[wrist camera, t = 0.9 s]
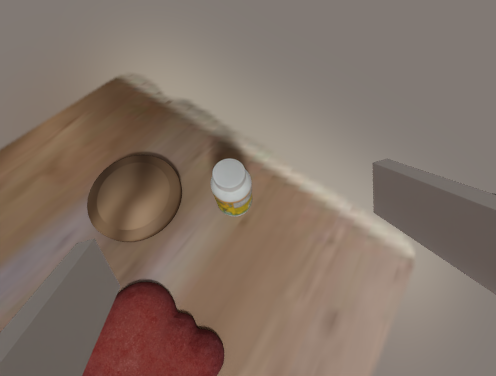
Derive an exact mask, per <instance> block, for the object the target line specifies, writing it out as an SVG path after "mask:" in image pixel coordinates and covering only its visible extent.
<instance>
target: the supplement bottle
mask: <svg viewBox="0 0 496 376" xmlns="http://www.w3.org/2000/svg"><path fill="white" fill-rule="evenodd" d="M211 189H212V192H213V194H214V197H215V199H216V201H217V204H218V206H219V208H220V210H221V211H222V212H223V213H225V214H227V215H230V216H240V215H242V214H244V213H245V212H247V211H248V209H249V208H250V206H251V203H252V182H251V177H250V175H249V173H248V172H247V170H246V169H245V168H244V166H243V164H242V163H241V162H239V161H238V160H236V159H231V158H229V159H223V160H221V161H219V162H218V163H217V164H216V165H215V167H214V168H213V172H212V178H211Z"/></svg>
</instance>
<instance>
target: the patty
mask: <svg viewBox="0 0 496 376" xmlns="http://www.w3.org/2000/svg"><path fill="white" fill-rule="evenodd" d="M223 361H224V349H223V344H222V342H221V340H220V339H219V338H218V336H217V335H216V334H215V333H214V332H212V331H209V330H206V329H199V328H198V327H197V326H196V324H195V321H194V320H193V318H192V317H191V316H190V315H188V314H184V313H179V312H178V311H177V309H176V306H175V303H174V301H173V298H172V296H171V295H170V294H169V292H168V291H167V290H166V289H164V288H163V287H162V286H160V285H158V284H156V283H152V282H140V283H135V284H133V285H130V286H129V287H127V288H125V289H124V290H122V291H121V292H120V293H119V294H117V296H116V298H115V300H114V302H113V305H112V307H111V309H110V312H109V314H108V316H107V319H106V321H105V323H104V326H103V328H102V330H101V333H100V335H99V337H98V340H97V342H96V344H95V347H94V349H93V351H92V354H91V356H90V358H89V361H88V363H87V365H86V368H85V370H84V372H83V375H82V376H217V374H218V373H219V371H220V369H221V367H222V365H223Z"/></svg>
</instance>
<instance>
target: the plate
mask: <svg viewBox="0 0 496 376" xmlns="http://www.w3.org/2000/svg"><path fill="white" fill-rule="evenodd" d="M181 198H182V188H181V183H180V180H179V178H178V176H177V174H176V173H175V171H174V170H173V168H172V167H171V166H170V165H169V164H168V163H167V162H165V161H163V160H162V159H160V158H157V157H154V156H149V155H135V156H130V157H126V158H123V159H121V160H119V161H117V162H115V163H113V164H112V165H110V166H109V167H108V168H106V169H105V170H104V171H103V172H102V173H101V174H100V175H99V176H98V178H97V179H96V181H95V182H94V184H93V186H92V188H91V190H90V193H89V196H88V203H87V208H88V215H89V218H90V220H91V222H92V224H93V226H94V227H95V228H96V229H97V230H98V231H99V232H100V233H102V234H103V235H105V236H107V237H109V238H112V239H114V240H117V241H122V242H136V241H141V240H144V239H147V238H149V237H152V236H154V235H155V234H157V233H159V232H160V231H161V230H163V229H164V228H165V227H166V226H167V225H168V224H169V223H170V222H171V220H172V219H173V218H174V216H175V215H176V213H177V211H178V209H179V206H180V203H181Z"/></svg>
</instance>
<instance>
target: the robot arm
mask: <svg viewBox="0 0 496 376" xmlns="http://www.w3.org/2000/svg"><path fill="white" fill-rule="evenodd" d="M373 199H374V201H373V203H374V213H375V214H377V215H378V216H380V217H381V218H383V219H384V220H386V221H387V222H389V223H390V224H392V225H393V226H395V227H396V228H398V229H399V230H400V231H402V232H403V233H405V234H406V235H408V236H410V237H411V238H412V239H414V240H415V241H417V242H419V243H420V244H421V245H423V246H424V247H426V248H427V249H429V250H430V251H432V252H433V253H435V254H436V255H438V256H439V257H441V258H442V259H444V260H445V261H447V262H448V263H450V264H451V265H453V266H454V267H456V268H457V269H459V270H460V271H461V272H463V273H464V274H466V275H468V276H469V277H470V278H472V279H473V280H475V281H476V282H478V283H479V284H481V285H482V286H484V287H485V288H487V289H489V290H490V291H491V292H493V293H494V294H496V194H493V193H489V192H486V191H483V190H479V189H477V188H474V187H471V186H468V185H465V184H462V183H459V182H456V181H453V180H450V179H446V178H444V177H441V176H437V175H435V174H431V173H429V172H426V171H423V170H419V169H417V168H414V167H411V166H407V165H404V164H402V163H399V162H396V161H393V160H390V159H385V160H381V161H377V162H374V163H373ZM119 288H120V285H119V283H118V281H117V279H116V277H115V275H114V274H113V272H112V270H111V268H110V266H109V264H108V262H107V261H106V259H105V257H104V255H103V253H102V251H101V249H100V248H99V246H98V244H97V242H96V240H95V239H91V240H87V241H84V242H80V243H76V245H75V246H74V247H73V248H72V249H71V251H70V252H69V253H68V254H67V255H66V256H65V258H64V259H63V260H62V261H61V262H60V263H59V265H58V266H57V267H56V268H55V269H54V270H53V272H52V273H51V274H50V275H49V276H48V277H47V279H46V280H45V281H44V282H43V283H42V284H41V286H40V287H39V288H38V289H37V290H36V291H35V293H34V294H33V295H32V296H31V297H30V298H29V300H28V301H27V302H26V303H25V304H24V305H23V307H22V308H21V309H20V310H19V311H18V312H17V314H16V315H15V316H14V317H13V318H12V320H11V321H10V322H9V323H8V324H7V325H6V327H5V328H4V329H3V330H2V331H1V332H0V376H82V375H83V372H84V370H85V368H86V365H87V363H88V361H89V358H90V356H91V354H92V351H93V349H94V347H95V344H96V342H97V340H98V337H99V335H100V333H101V330H102V328H103V326H104V323H105V321H106V319H107V316H108V314H109V312H110V309H111V307H112V305H113V302H114V300H115V298H116V295H117V293H118V291H119Z"/></svg>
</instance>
